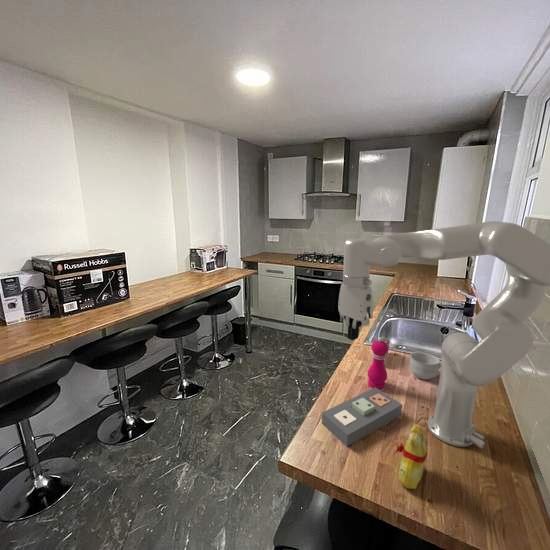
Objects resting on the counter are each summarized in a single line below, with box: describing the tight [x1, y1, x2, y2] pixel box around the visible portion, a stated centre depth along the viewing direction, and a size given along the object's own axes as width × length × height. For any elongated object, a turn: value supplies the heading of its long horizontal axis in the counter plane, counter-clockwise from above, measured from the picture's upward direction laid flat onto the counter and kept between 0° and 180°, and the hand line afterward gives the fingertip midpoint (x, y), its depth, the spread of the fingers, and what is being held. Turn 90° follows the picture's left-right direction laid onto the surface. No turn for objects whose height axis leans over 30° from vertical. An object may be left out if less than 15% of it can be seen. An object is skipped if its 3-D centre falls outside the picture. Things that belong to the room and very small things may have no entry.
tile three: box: [369, 393, 391, 407], centre depth 99 cm, size 5×5×4 cm
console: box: [321, 387, 403, 448], centre depth 95 cm, size 11×25×4 cm, turn 122°
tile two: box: [352, 398, 375, 417], centre depth 94 cm, size 5×5×4 cm
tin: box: [383, 338, 391, 356], centre depth 131 cm, size 15×3×8 cm, turn 144°
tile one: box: [333, 410, 357, 427], centre depth 91 cm, size 5×5×4 cm
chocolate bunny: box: [394, 424, 428, 490], centre depth 74 cm, size 7×11×15 cm, turn 140°
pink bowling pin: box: [367, 336, 389, 391], centre depth 111 cm, size 7×7×20 cm
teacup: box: [409, 351, 441, 380], centre depth 118 cm, size 14×11×8 cm
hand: (352, 338), depth 90 cm, fingers closed
